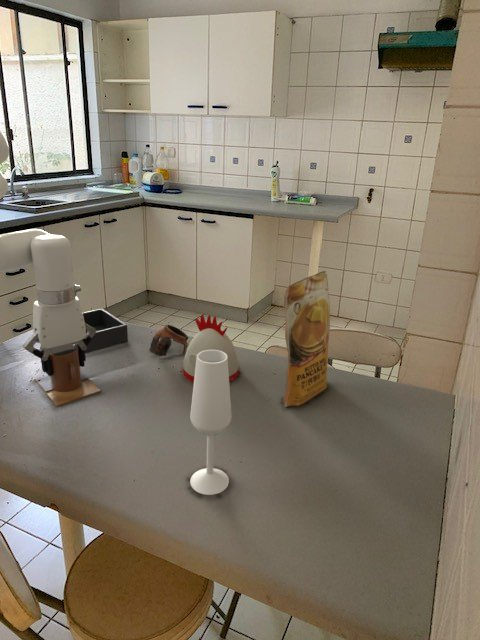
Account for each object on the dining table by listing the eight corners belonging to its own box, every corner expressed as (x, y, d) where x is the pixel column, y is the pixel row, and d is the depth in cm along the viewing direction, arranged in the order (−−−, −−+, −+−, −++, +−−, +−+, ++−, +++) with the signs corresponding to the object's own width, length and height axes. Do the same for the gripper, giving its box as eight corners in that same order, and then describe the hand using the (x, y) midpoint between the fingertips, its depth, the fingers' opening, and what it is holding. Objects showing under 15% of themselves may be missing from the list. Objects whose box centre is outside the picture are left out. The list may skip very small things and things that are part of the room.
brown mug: (47, 383, 107) (42, 347, 103) (74, 374, 111) (71, 340, 107) (61, 399, 101) (57, 362, 97) (90, 390, 105) (87, 354, 101)
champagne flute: (212, 462, 84) (215, 343, 75) (237, 482, 80) (243, 358, 71) (182, 479, 80) (181, 354, 71) (206, 501, 75) (208, 371, 66)
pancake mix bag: (265, 402, 104) (274, 283, 93) (313, 374, 117) (326, 267, 107) (289, 414, 100) (301, 291, 89) (336, 384, 113) (351, 273, 102)
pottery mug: (151, 344, 130) (165, 319, 129) (180, 362, 130) (194, 337, 129) (139, 353, 118) (155, 325, 117) (171, 372, 118) (187, 344, 117)
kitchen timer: (198, 354, 124) (198, 302, 119) (246, 365, 120) (248, 311, 114) (173, 378, 112) (172, 320, 107) (225, 390, 108) (227, 331, 102)
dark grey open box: (55, 337, 131) (53, 318, 128) (103, 326, 139) (102, 308, 137) (78, 357, 120) (75, 337, 118) (128, 344, 129) (127, 324, 127)
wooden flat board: (34, 380, 108) (33, 378, 108) (75, 368, 115) (75, 366, 114) (56, 407, 99) (56, 405, 99) (100, 392, 105) (100, 390, 105)
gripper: (88, 283, 106) (94, 353, 113) (7, 297, 95) (19, 373, 102) (102, 291, 101) (108, 364, 108) (19, 307, 90) (31, 387, 97)
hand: (64, 368), depth 105 cm, fingers closed on brown mug, 6 cm apart
